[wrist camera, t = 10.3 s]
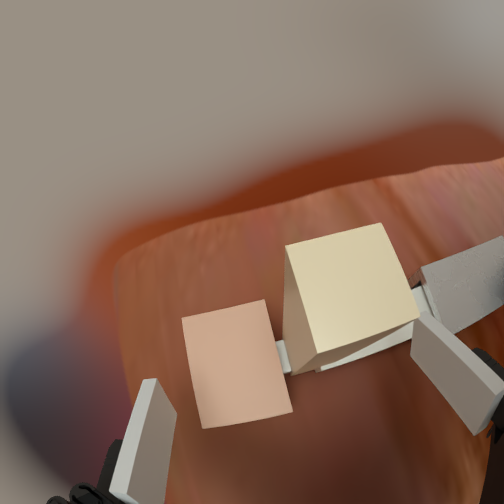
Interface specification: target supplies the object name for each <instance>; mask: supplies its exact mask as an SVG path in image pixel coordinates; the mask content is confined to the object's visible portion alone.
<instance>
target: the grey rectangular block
mask: <svg viewBox="0 0 504 504" xmlns="http://www.w3.org/2000/svg"><path fill="white" fill-rule="evenodd" d="M407 281H408V284H409V286H410V289H411V290H412V289H414V288H417V287H420V286H423V288H424V291H425V293H426V296H427V298H428V301H429V303H430V306H431V309H432V312H433V314H434V317H435V319H436V320H437V321H439V322H440V323H441V324H442V325H443V326H444V327H446V328H447V329H448V330H449V331H450V332H451V333H452V334H455V333H457V332H459V331H461V330H462V329H464V328H466V327H468V326H469V325H471V324H473V323H475V322H476V321H478V320H480V319H481V318H483V317H485V316H486V315H488V314H489V313H491V312H493V311H494V310H496V309H497V308H499V307H500V306H502V305H503V304H504V238H503V236H499V237H497V238H495V239H492V240H490V241H487V242H485V243H483V244H480V245H478V246H475V247H473V248H470V249H468V250H465V251H463V252H460V253H458V254H455V255H452V256H450V257H447V258H444V259H442V260H439V261H436V262H434V263H431V264H428V265H425V266H422V267H420V268H419V269H418V270H417V271H416V272H415V273H414V274H413V275H412V276H411V277H410V278H409V279H408V280H407ZM411 340H412V338H411Z"/></svg>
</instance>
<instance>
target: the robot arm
mask: <svg viewBox="0 0 504 504" xmlns="http://www.w3.org/2000/svg"><path fill="white" fill-rule="evenodd" d="M420 315H421V317H419V318H417V319H416V320H414V323H413V334H412V343H411V352H410V356H411V358H412V359H413V360H414V361H415V362H416V363H417V365H418V366H419V367H420V368H421V369H422V371H423V372H424V373H425V374H426V375H427V377H428V378H429V379H430V380H431V382H432V383H433V384H434V385H435V386H436V388H437V389H438V390H439V391H440V393H441V394H442V395H443V396H444V398H445V399H446V400H447V401H448V403H449V404H450V405H451V407H452V408H453V409H454V410H455V412H456V413H457V414H458V416H459V417H460V418H461V419H462V421H463V422H464V423H465V425H466V426H467V427H468V429H469V430H470V431H471V433H472V434H473V435H474V436H475V435H477V434H478V433H479V432H481V431H482V430H484V429H485V428H486V427H487V425H488V424H489V422H490V420H492V421H493V422H494V424H493V425H492V427H491V429H490V430H489V432H488V434H487V437H486V438H488V437H489V436H490V434H491V432H492V434H491V444H490V452H489V459H488V465H487V471H486V477H485V481H484V486H483V491H482V495H481V499H480V503H479V504H504V368H503V367H502V366H501V365H500V364H499V363H497V361H495V360H494V359H492V357H491V356H490V355H489V354H488V353H487V352H485V351H483V350H481V349H479V348H474V349H473V350H470V349H469V348H468V347H467V346H466V345H465V344H464V343H463V342H461V341H460V340H459V339H458V338H457V337H456V336H455V335H454V334H452V333H451V332H450V331H449V330H448V329H447V328H446V327H444V326H443V325H442V324H441V323H440V322H439V321H437V320H436V319H435V318H434V317H433V316H432V315H430V314H429V313H428V312H427V311H426V310H425V311H423V312H420ZM176 418H177V413H176V411H175V409H174V408H173V406H172V404H171V403H170V401H169V399H168V397H167V396H166V394H165V392H164V390H163V389H162V387H161V385H160V383H159V381H158V380H157V378H155V379H145V380H143V382H142V385H141V388H140V391H139V394H138V396H137V399H136V402H135V405H134V408H133V411H132V415H131V418H130V421H129V424H128V427H127V430H126V433H125V437H124V440H117V439H116V440H115V441H114V442H113V443H112V445H111V446H110V447H109V449H108V453H107V455H106V457H107V458H106V459H105V462H104V466H103V468H102V471H101V475H100V478H99V481H98V484H97V488H95V487H93V486H92V485H90V484H88V483H79V484H76V485H75V486H74V487H73V488H72V490H71V491H70V494H69V498H70V501H71V502H68V501H67V500H65V499H64V498H62V497H60V496H54V497H52V498H50V499H49V500H48V501H47V504H164V499H165V491H166V484H167V476H168V469H169V462H170V455H171V449H172V442H173V436H174V430H175V424H176Z"/></svg>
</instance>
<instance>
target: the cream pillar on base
mask: <svg viewBox="0 0 504 504" xmlns="http://www.w3.org/2000/svg"><path fill="white" fill-rule="evenodd" d="M425 310H426V311H427V312H428V313H429V314H430V315H432V316H433V317H434V314H433V312H432V309H431V306H430V303H429V301H428V298H427V296H426V293H425V291H424V288H423V286H420V287H417V288H414V289H412V290H411V289H410V286H409V284H408V281H407V279H406V276H405V274H404V272H403V269H402V267H401V264H400V262H399V260H398V258H397V255H396V253H395V251H394V249H393V247H392V244H391V242H390V240H389V238H388V236H387V234H386V232H385V230H384V228H383V225H382V223H377V224H373V225H369V226H364V227H360V228H356V229H352V230H348V231H344V232H340V233H336V234H332V235H328V236H324V237H320V238H316V239H311V240H307V241H303V242H299V243H295V244H291V245H287V246H285V278H284V308H283V331H282V340H280V341H276V342H275V343H276V347H277V351H278V355H279V359H280V363H281V367H282V371H283V374H286V373H290V374H291V376H293V375H297V374H301V373H304V372H308V371H311V370H315V373H317V372H321V371H324V370H327V369H330V368H334V367H337V366H340V365H343V364H346V363H349V362H352V361H355V360H357V359H360V358H363V357H366V356H369V355H371V354H374V353H377V352H379V351H382V350H384V349H387V348H389V347H392V346H394V345H397V344H399V343H402V342H404V341H406V340H409V339H411V338H412V334H413V323H414V320H416V319H417V318H419V317H421V315H420V312H423V311H425ZM434 318H435V317H434Z"/></svg>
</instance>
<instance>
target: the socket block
mask: <svg viewBox="0 0 504 504" xmlns="http://www.w3.org/2000/svg"><path fill="white" fill-rule="evenodd" d="M182 324H183V331H184V337H185V343H186V349H187V355H188V361H189V366H190V372H191V377H192V382H193V387H194V392H195V397H196V402H197V407H198V411H199V416H200V420H201V424H202V429H205V428H213V427H220V426H227V425H233V424H239V423H244V422H250V421H255V420H260V419H265V418H269V417H274V416H278V415H282V414H286V413H290V412H293V410H292V406H291V402H290V398H289V394H288V390H287V387H286V383H285V379H284V375H283V371H282V367H281V363H280V359H279V355H278V351H277V347H276V343H275V339H274V335H273V331H272V327H271V323H270V320H269V316H268V312H267V308H266V304H265V300H264V299H263V300H259V301H255V302H251V303H247V304H243V305H238V306H234V307H230V308H225V309H221V310H217V311H212V312H208V313H203V314H198V315H194V316H189V317H184V318H182Z"/></svg>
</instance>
